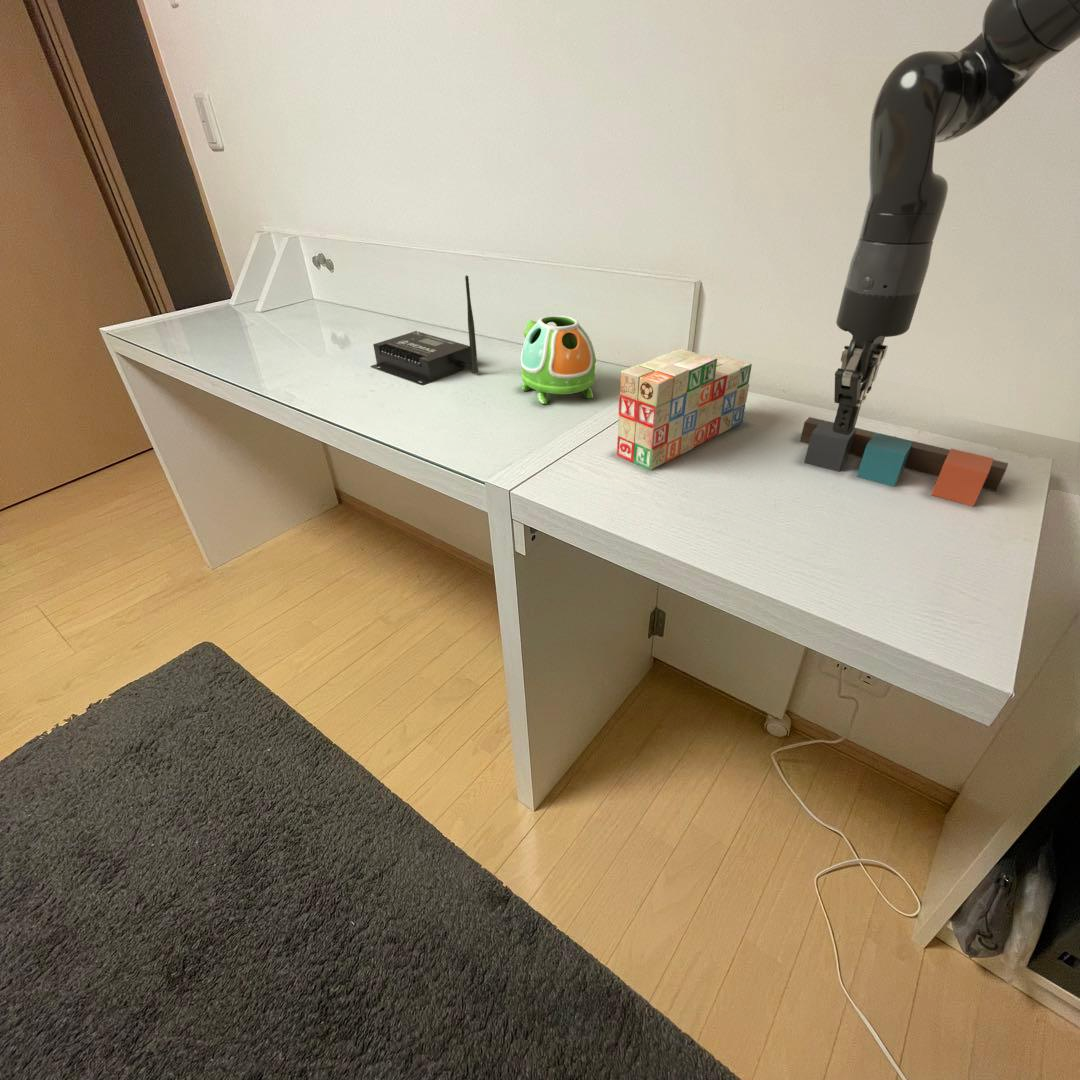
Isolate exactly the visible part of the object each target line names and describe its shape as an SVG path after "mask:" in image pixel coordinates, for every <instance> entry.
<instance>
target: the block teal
mask: <svg viewBox="0 0 1080 1080" xmlns="http://www.w3.org/2000/svg"><path fill="white" fill-rule="evenodd" d="M913 441H914V440H911V439H906V438H902V439H901V437H898V438H897V436H893V435H889V436H888V434H885V435H884V433H880V432H876V433H875V434H874V435H873V437H872V438H871V440H870V441H869V442H868V444H867V445H866V448H865V451H864V454H863V457H861V460H860V464H859V466H858V471H857V474H856V478H860V479H864V480H868V481H871V482H875V483H879V484H882V485H886V486H890V487H895V486H896V484H897V483H898V481H899V480H900V477H901V475H902V474H903V472H904V469H905V468H904V466H905V464H906V461H907V458H908V456H909V453H910V450H911V447H912V445H913Z"/></svg>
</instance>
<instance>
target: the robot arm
mask: <svg viewBox="0 0 1080 1080" xmlns="http://www.w3.org/2000/svg"><path fill="white" fill-rule="evenodd" d="M1079 39H1080V0H990V2H989V4H988V5H987V7H986V8H985V11H984V14H983V17H982V23H981V32H980V33H979V35H977V36H976V37H975V39H973V40H972V41H971V42H970V43H968V44H967V45H966V46H964V47H962V49H960V50H958V51H949V50H948V51H947V50H945V51H944V50H943V51H942V50H941V51H940V50H925V51H920V52H915V53H913V54H910V55H909V56H907V57H905V58H904V59H902V60H901V61H900V62H898V64H896V66H895V67H893V69H892V70H891V71H890V73H889V74H888V76H887V77H886V79H885V80H884V82H883V84H882V85H881V88H880V89H879V92H878V94H877V96H876V99H875V103H874V105H873V109H872V113H871V118H870V128H869V165H868V166H869V169H868V174H869V175H868V177H869V196H868V201H867V204H866V208H865V211H864V216H863V220H862V223H861V228H860V232H859V237H858V239H857V244H856V245H855V248H854V251H853V254H852V257H851V260H850V263H849V266H848V272H847V275H846V280H845V283H844V288H843V291H842V292H843V293H842V296H841V299H840V305H839V308H838V313H837V316H836V322H835V323H836V326H837V327H838V328H839V329H840V330H842V331H844V332H848V333H849V334H851V335H852V337H851V340H850V342H849V344H848V345H844V347H843V349H842V352H841V357H840V362H841V366H840V367H839V368H837V370H836V371H835V372H834V398H833V400H834V403H835V404H838V406H837V410H836V414H835V418H834V421H833V423H834V425H833V431H834V432H836V433H841V434H845V435H849V434H850V433H851V432H852V431H853V430H854V428H856V424H857V421H858V418H859V413H860V410H861V407H862V404H863V403H864V401H866V399H867V394H869V393H870V392H871V391H872V386H873V384H874V382H875V381H876V379H877V376H878V373H879V369H880V366H881V363H882V362H883V360H884V359H885V357H886V355H887V351H888V345H887V344H884V342H885V339H886V338H890V337H898V336H901V335H904V334H906V333H907V332H908V331H909V330H910V327H911V324H912V320H913V317H914V315H915V311H916V308H917V305H918V301H919V298H920V295H921V291H922V288H923V286H924V282H925V279H926V276H927V272H928V269H929V265H930V261H931V254H932V249H933V243H934V240H935V236H936V233H937V229H938V227H939V223H940V221H941V216H942V214H943V211H944V207H945V205H946V200H947V196H948V191H949V183H948V181H947V179H946V178H945V177H944V176H942V175H941V174H938V173H936V172H934V158H935V157H934V154H935V145H936V144H940V143H946V142H947V143H948V142H950V141H953V140H956V139H958V138H960V137H962V136H964V135H966V134H969V132H972V131H973V130H974V129H976V128H977V127H979V126H981V124H983V123H984V122H985V121H987V120H988V119H989V118H990V117H992V116H993V115H994V114H995V113H996V112H997V111H999V110H1000V109H1001V108H1002V107H1003V106H1004V105H1005V104H1006V103H1007V102H1008V101H1009V100H1011V98H1012V97H1013V96H1014V95H1015V94H1016V93H1018V91H1019V90H1020V89H1021V88H1022V87H1023V86H1024V85H1026V83H1027V82H1028V81H1029V80H1030V79H1031V78H1032V77H1033V76H1034V75H1035V73H1036V72H1037V71H1038V70H1039V69H1040V68H1041V67H1042V66H1043V65H1044V64H1045V63H1047V62H1048V61H1049V60H1051V59H1052V58H1054V57H1055V56H1057V55H1058V54H1060V53H1061V52H1063V51H1064V50H1065V49H1067V48H1068V47H1069V46H1071V45H1072V44H1073V43H1075V42H1076V41H1077V40H1079Z"/></svg>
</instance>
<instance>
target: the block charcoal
mask: <svg viewBox="0 0 1080 1080" xmlns="http://www.w3.org/2000/svg"><path fill="white" fill-rule="evenodd" d="M826 421H827V420H825V421H821V422H820V423H819V424H818V426H817V427H816V428H815V429H814V431H813V432H812V434H811V438H810V442H809V443H808V446H807V450H806V453H805V458H804V464H807V465H810V466H815V467H818V468H822V469H826V470H830V471H832V472H833V471H834V472H838V473H840V471H841V470H842V468H843V466H844V465H845V463H846V462H847V460H848V459H849V456H850V454H849V453H850V450H851V446H852V443H853V440H854V436H855V433H856V430H857V428H858V427H855V428H854V430H853V431H852V432H851V433H850V434H849V435H845V434H841V433H836V432H834V431H833V425H834V422H833V423H831V422H832V421H829V422H826Z"/></svg>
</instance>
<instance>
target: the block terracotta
mask: <svg viewBox="0 0 1080 1080" xmlns="http://www.w3.org/2000/svg"><path fill="white" fill-rule="evenodd" d="M949 450H950V452H949V454H948V456H947V458H946V460H945V462H944V464H943V467H942V469H941V472H940V474H939V476H937V479H936V481H935V484H934V487H933V489H932V491H931V494H930V495H931V496H933V497H937V498H941V499H944V500H948V501H952V502H956V503H959V504H962V505H967V506H970V507H974V506H975V504H976V502H977V499H978V498H979V495H980V493H981V491H982V489H983V485H984V482H985V480H986V478H987V476H988V474H989V471H990V468H991V465H992V462H993V460H995V458H994V457H990V456H985V455H981V454H976V453H972V452H968V451H964V450H960V449H955V448H950V449H949Z"/></svg>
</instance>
